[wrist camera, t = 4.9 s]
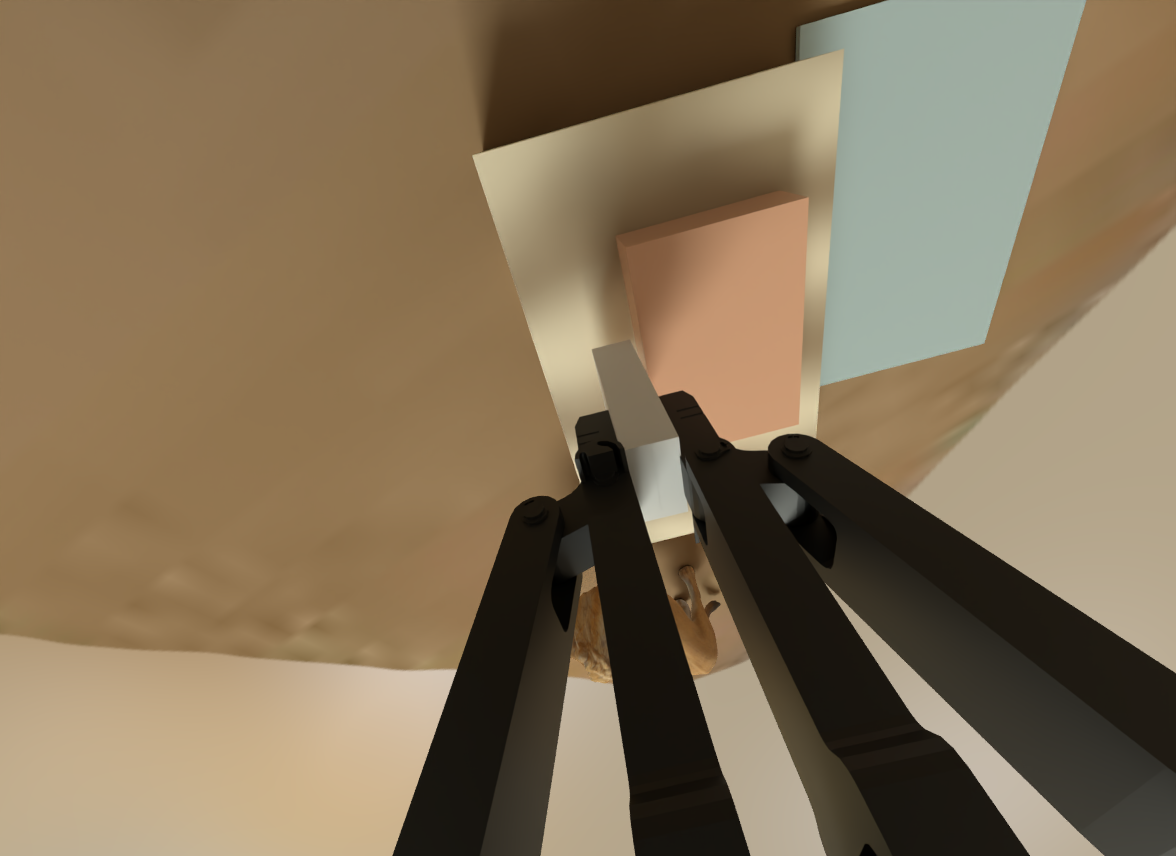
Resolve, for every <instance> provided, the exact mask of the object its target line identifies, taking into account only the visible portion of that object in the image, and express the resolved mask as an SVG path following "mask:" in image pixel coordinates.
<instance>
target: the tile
mask: <svg viewBox="0 0 1176 856" xmlns="http://www.w3.org/2000/svg"><path fill="white" fill-rule="evenodd" d="M808 207H809V197H806V196H802V195H798V194H793V193H789V192H784V191H780V190H779V191H775V192H772V193H768V194H765V195H761V196H757V197H754V198H750V199H747V200H743V201H739V202H736V203H732V204H729V205H725V206H721V207H718V208H714V209H710V210H707V211H703V212H700V213H696V214H692V215H689V216H685V217H682V218H678V219H674V220H671V221H667V222H664V223H660V224H656V225H653V226H649V227H646V228H642V229H638V230H635V231H631V232H628V233H624V234H620V235H617V236H615V237H616V242H617V247H618V253H619V258H620V263H621V269H622V274H623V279H624V285H625V290H626V295H627V301H628V306H629V311H630V316H631V322H632V327H633V332H634V338H635V343H636V348H637V354H638V357H639V359H640V361H641V363H642V365H643V367H644V369H645V371H646V373H647V375H648V377H649V379H650V381H651V383H652V384H653V386H654V388H655V390H656V392H657V394H658V396H661V395H665V394H669V393H673V392H678V391H682V390H683V391H685V392H686V393H688V394H690V395H692V396H694V398H695V400H696V401H697V403H698V404H699V407H701V409H702V411H703V413H704V414H705V415H706V417H707V418H708V420H709V422H710V423H711V425H712V426H713V428H714V429H715V431H716V433H717V434H718V436H719V437H720V438H723V439H725V440H728V441H729V442H732V441H736V440H740V439H744V438H748V437H752V436H756V435H760V434H764V433H767V432H771V431H775V430H779V429H783V428H787V427H791V426H795V425H798V424H799V410H800V388H801V365H802V343H803V320H804V297H805V275H806V252H807V230H808Z"/></svg>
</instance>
